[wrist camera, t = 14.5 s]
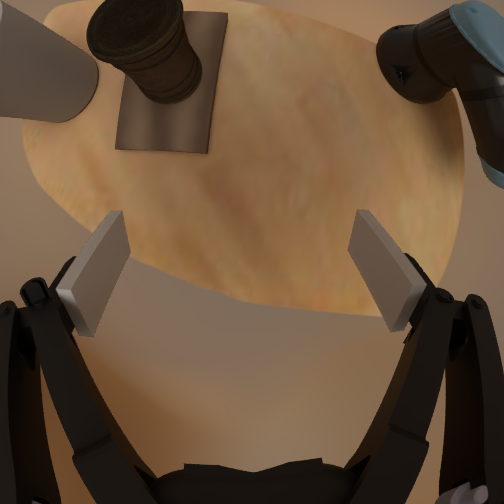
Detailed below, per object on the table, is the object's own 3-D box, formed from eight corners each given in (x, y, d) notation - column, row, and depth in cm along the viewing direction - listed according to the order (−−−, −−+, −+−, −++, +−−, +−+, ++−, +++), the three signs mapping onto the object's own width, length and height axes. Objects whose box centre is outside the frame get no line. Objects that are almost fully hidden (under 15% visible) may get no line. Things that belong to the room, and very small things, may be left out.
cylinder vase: (73, 134, 35) (-44, 130, 12) (29, 108, 32) (-77, 99, 9) (114, 65, 33) (22, 0, 9) (64, 45, 30) (-26, -3, 6)
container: (190, 110, 34) (161, 70, 17) (130, 98, 32) (66, 62, 15) (212, 53, 31) (203, -18, 14) (152, 43, 30) (109, -21, 13)
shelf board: (227, 21, 32) (227, 12, 29) (207, 153, 39) (205, 153, 36) (145, 21, 31) (141, 13, 28) (122, 149, 37) (114, 149, 34)
